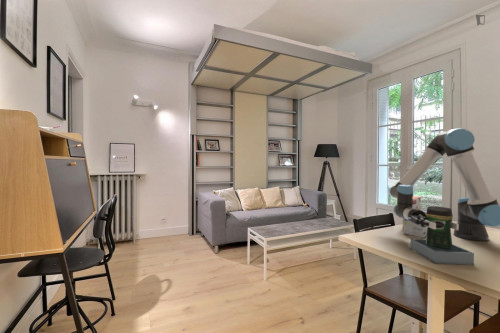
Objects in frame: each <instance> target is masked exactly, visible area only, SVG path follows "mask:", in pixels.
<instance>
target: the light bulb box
mask: <svg viewBox="0 0 500 333" xmlns="http://www.w3.org/2000/svg"><path fill="white" fill-rule="evenodd" d="M402 230H403V234H405V235H411V236H415V237H419V238H426V234H427V226H424V227H422V226H421V224H419V225H417V224H415V223H413V222H410V221H409V220H406V219H404V229H402Z"/></svg>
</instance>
